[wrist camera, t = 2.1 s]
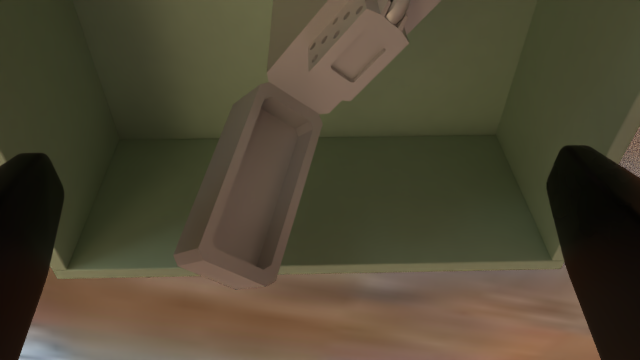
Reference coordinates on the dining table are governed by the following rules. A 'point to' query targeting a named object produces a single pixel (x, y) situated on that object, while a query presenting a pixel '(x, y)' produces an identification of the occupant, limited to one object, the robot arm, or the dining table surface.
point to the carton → (336, 133)
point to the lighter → (285, 131)
